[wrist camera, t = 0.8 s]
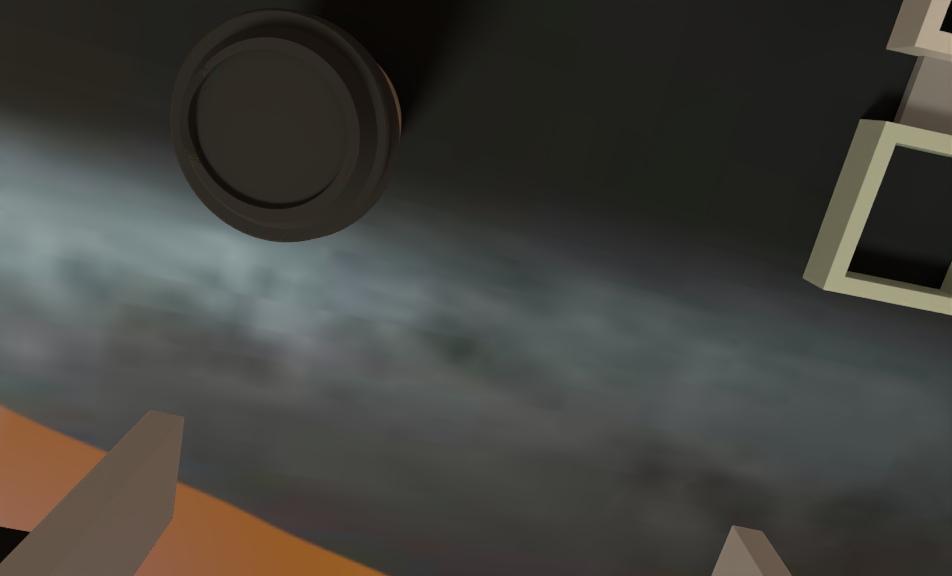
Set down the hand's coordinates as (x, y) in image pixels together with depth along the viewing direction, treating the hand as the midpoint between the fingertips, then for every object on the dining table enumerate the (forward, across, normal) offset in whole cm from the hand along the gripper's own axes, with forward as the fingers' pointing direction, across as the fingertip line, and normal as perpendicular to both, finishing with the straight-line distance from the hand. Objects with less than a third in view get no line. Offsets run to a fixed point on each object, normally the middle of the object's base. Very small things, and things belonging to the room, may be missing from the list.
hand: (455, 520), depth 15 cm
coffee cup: (+27, -9, +6) cm, 29 cm away
